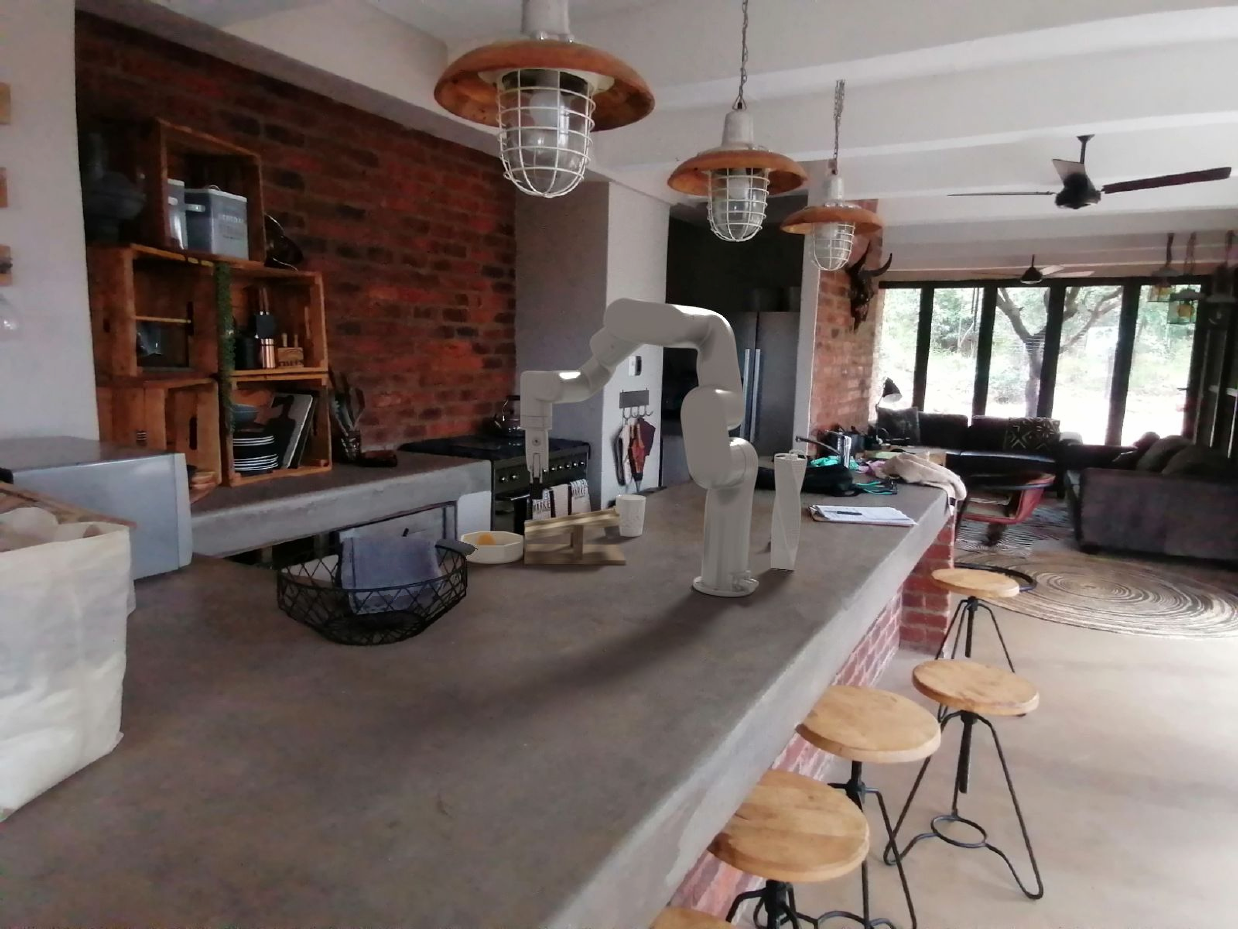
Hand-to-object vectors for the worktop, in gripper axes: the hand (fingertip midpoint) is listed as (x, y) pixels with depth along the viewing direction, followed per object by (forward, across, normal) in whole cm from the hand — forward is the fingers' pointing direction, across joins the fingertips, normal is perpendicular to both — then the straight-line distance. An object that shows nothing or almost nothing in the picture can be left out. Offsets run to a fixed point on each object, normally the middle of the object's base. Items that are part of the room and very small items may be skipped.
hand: (536, 499), depth 191 cm
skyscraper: (+14, -16, -57) cm, 60 cm away
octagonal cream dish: (+12, -7, +10) cm, 17 cm away
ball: (+9, -7, +12) cm, 16 cm away
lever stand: (+12, -7, -9) cm, 17 cm away
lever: (+8, -4, -9) cm, 13 cm away
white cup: (+12, +16, -25) cm, 32 cm away
